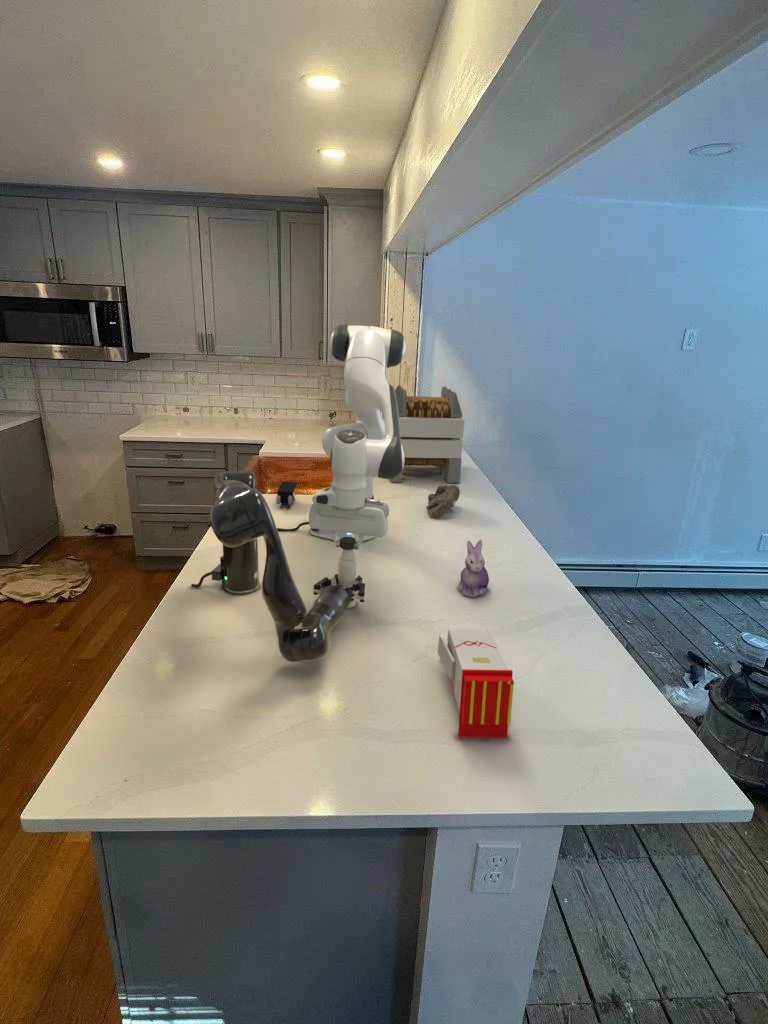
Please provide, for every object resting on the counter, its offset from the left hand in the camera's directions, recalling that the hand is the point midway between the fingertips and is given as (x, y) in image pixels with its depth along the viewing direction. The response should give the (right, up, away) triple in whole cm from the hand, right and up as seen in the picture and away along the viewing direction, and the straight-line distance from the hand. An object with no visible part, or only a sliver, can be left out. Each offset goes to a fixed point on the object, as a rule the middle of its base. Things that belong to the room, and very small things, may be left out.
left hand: (349, 577), depth 152 cm
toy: (+27, -20, -33) cm, 47 cm away
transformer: (+26, +36, +123) cm, 131 cm away
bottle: (-1, -7, 0) cm, 7 cm away
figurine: (+35, -5, +10) cm, 36 cm away
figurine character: (-29, +20, +72) cm, 81 cm away
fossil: (+32, +18, +73) cm, 82 cm away
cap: (0, +10, -6) cm, 12 cm away
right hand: (0, +8, -6) cm, 10 cm away
